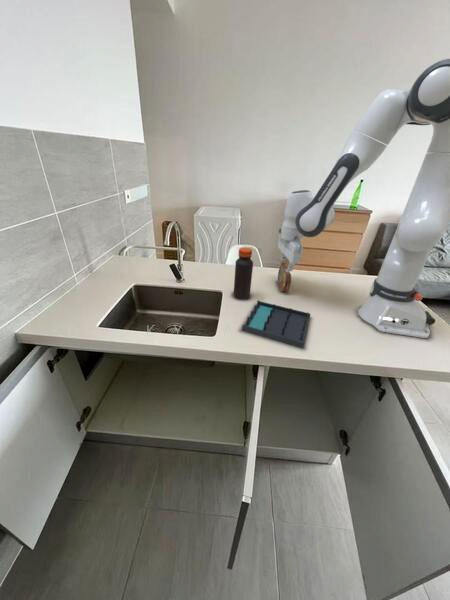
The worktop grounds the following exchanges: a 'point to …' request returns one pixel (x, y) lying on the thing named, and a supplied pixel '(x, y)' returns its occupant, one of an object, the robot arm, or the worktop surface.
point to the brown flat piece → (284, 279)
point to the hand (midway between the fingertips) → (286, 265)
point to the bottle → (243, 274)
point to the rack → (278, 323)
